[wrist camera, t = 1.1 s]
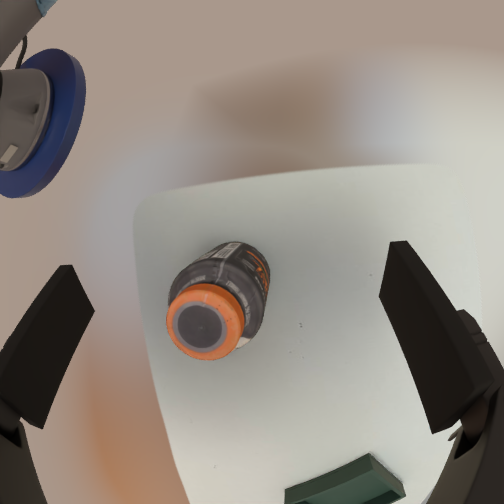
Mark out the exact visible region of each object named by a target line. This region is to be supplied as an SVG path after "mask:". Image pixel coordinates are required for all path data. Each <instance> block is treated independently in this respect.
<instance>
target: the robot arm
mask: <svg viewBox="0 0 504 504" xmlns="http://www.w3.org/2000/svg"><path fill="white" fill-rule="evenodd" d="M56 1H57V0H0V67H1V66H2V64H3V63H4V62H5V60H6V59H7V58H8V56H9V55H10V54H11V52H12V51H13V50H14V49H15V47H16V46H17V45H18V43H20V41H21V40H22V39H23V46H22V50H21V53H20V56H19V58H18V61H17V64H16V68H15V69H12V70H0V170H1V171H17V170H19V169H21V168H23V167H24V166H25V165H26V164H27V163H28V162H29V161H30V160H31V159H32V158H33V156H34V155H35V154H36V152H37V150H38V149H39V147H40V145H41V143H42V141H43V139H44V137H45V135H46V132H47V130H48V127H49V124H50V121H51V117H52V113H53V108H54V99H55V91H54V84H53V81H52V79H51V77H50V76H49V75H48V74H47V73H45V72H43V71H41V70H38V69H32V68H29V69H20V66H21V63H22V59H23V57H24V54H25V52H26V48H27V36H26V34H27V33H28V32H29V31H30V30H31V29H32V27H33V26H34V25H35V24H36V23H37V22H38V21H39V20H40V19H41V18H42V17H44V16H45V15H46V13H47V11H48V10H49V9H50V7H52V6H53V5H54V4H55V3H56ZM379 298H380V300H381V302H382V305H383V307H384V309H385V311H386V313H387V316H388V318H389V320H390V322H391V325H392V327H393V329H394V332H395V334H396V336H397V339H398V341H399V343H400V346H401V348H402V351H403V353H404V356H405V358H406V361H407V363H408V366H409V368H410V371H411V374H412V376H413V379H414V382H415V384H416V387H417V390H418V393H419V396H420V399H421V401H422V404H423V407H424V410H425V413H426V416H427V420H428V423H429V426H430V429H431V432H432V434H434V433H437V432H440V431H442V430H445V429H448V428H450V427H452V426H453V425H454V424H455V423H456V422H457V421H458V420H459V419H460V421H461V424H462V426H461V427H459V428H458V429H457V430H456V431H455V432H454V433H453V434H452V435H451V436H450V437H449V439H448V441H451V440H452V439H454V438H455V437H456V439H455V441H454V444H453V447H452V449H451V452H450V454H449V457H448V459H447V462H446V464H445V466H444V469H443V471H442V473H441V475H440V477H439V480H438V482H437V484H436V486H435V488H434V490H433V492H432V494H431V496H430V498H429V499H428V501H427V503H426V504H504V369H503V367H502V365H501V363H500V361H499V360H498V358H497V356H496V354H495V352H494V350H493V349H492V347H491V345H490V344H489V342H487V338H486V337H485V335H484V333H482V332H481V331H482V330H481V328H480V327H479V325H478V323H477V322H476V320H475V319H474V318H473V317H472V316H471V315H470V314H469V313H467V312H466V311H465V310H464V309H463V310H458V311H456V310H455V308H454V306H453V305H452V303H451V302H450V300H449V299H448V297H447V296H446V294H445V293H444V291H443V290H442V288H441V287H440V285H439V284H438V282H437V281H436V279H435V278H434V277H433V275H432V274H431V272H430V271H429V270H428V268H427V267H426V265H425V264H424V263H423V261H422V260H421V259H420V257H419V256H418V255H417V253H416V252H415V251H414V249H413V248H412V247H411V245H410V244H409V243H408V242H407V241H395V242H390V245H389V251H388V256H387V261H386V266H385V271H384V275H383V280H382V284H381V289H380V293H379ZM94 312H95V310H94V308H93V307H92V305H91V303H90V301H89V299H88V297H87V295H86V293H85V291H84V289H83V287H82V285H81V283H80V281H79V279H78V276H77V275H76V272H75V270H74V268H73V266H72V265H60V266H59V268H58V269H57V270H56V271H55V273H54V274H53V275H52V277H51V278H50V279H49V281H48V282H47V283H46V285H45V286H44V287H43V289H42V290H41V291H40V293H39V294H38V296H37V297H36V298H35V300H34V301H33V303H32V304H31V306H30V307H29V308H28V310H27V311H26V313H25V314H24V316H23V317H22V319H21V321H20V322H19V323H18V325H17V327H16V328H15V330H14V331H13V333H12V334H11V336H10V337H9V338H8V339H7V341H6V343H5V345H4V346H3V349H2V350H1V352H0V504H47V501H46V499H45V496H44V493H43V491H42V489H41V485H40V483H39V480H38V476H37V473H36V470H35V467H34V464H33V461H32V457H31V453H30V450H29V446H28V442H27V438H26V433H25V429H24V426H23V424H22V423H21V422H20V421H19V420H20V418H21V417H22V418H23V419H24V420H26V421H27V422H28V423H29V424H30V425H33V426H35V427H38V428H40V429H43V427H44V425H45V422H46V419H47V416H48V414H49V411H50V408H51V405H52V403H53V401H54V398H55V396H56V393H57V391H58V388H59V385H60V383H61V381H62V379H63V376H64V374H65V372H66V370H67V367H68V365H69V363H70V361H71V358H72V356H73V354H74V352H75V350H76V348H77V346H78V343H79V342H80V339H81V337H82V335H83V333H84V331H85V329H86V327H87V325H88V323H89V322H90V320H91V318H92V316H93V314H94Z"/></svg>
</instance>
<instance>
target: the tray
mask: <svg viewBox="0 0 504 504" xmlns="http://www.w3.org/2000/svg"><path fill="white" fill-rule="evenodd" d="M404 497H406V494H405V491H404V488H403V484H402V483H401V482H400V481H399V480H398V479H397V478H396V477H394V476H393V475H392V474H391V473H390V472H389V471H388V470H387V469H386V468H384V467H383V466H382V465H381V464H380V463H379V462H378V461H377V460H376V459H375V458H374V457H372V456H371V455H370V454H367V455H365V456H363V457H361V458H359V459H357V460H355V461H353V462H351V463H349V464H347V465H345V466H343V467H340V468H338V469H336V470H334V471H332V472H329V473H327V474H325V475H322V476H320V477H317V478H315V479H312V480H310V481H307V482H305V483H302V484H299V485H297V486H294V487H291V488H288V489H285V501H284V504H392V503H394V502H396V501H398V500H400V499H402V498H404Z"/></svg>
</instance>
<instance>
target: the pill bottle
mask: <svg viewBox="0 0 504 504" xmlns="http://www.w3.org/2000/svg"><path fill="white" fill-rule="evenodd" d="M269 284H270V270H269V266H268V264H267V261H266V260H265V258H264V257H263V255H262V254H261V253H260V252H259V251H257V250H256V249H255V248H254V247H252V246H250V245H248V244H245V243H241V242H228V243H224V244H221V245H219V246H217V247H216V248H214V249H213V250H211V251H210V252H208V253H207V254H205V255H204V256H202V257H201V258H199V259H197V260H196V261H194V262H193V263H192V264H190V265H189V266H187V267H186V268H185V269H183V270H182V271H181V272H180V273H179V274H178V276H177V277H176V278H175V280H174V282H173V284H172V286H171V289H170V292H169V297H168V308H169V309H168V312H167V317H166V324H167V329H168V333H169V335H170V337H171V339H172V341H173V342H174V344H175V345H176V346H177V347H178V348H179V349H180V350H181V351H183V352H184V353H185V354H187V355H189V356H191V357H193V358H196V359H200V360H216V359H220V358H222V357H225V356H226V355H228V354H229V353H230V352H231V351H232V350H235V349H238V348H240V347H241V346H243V345H245V344H246V343H248V342H249V341H250V340H251V339H252V338H253V337H254V336H255V335H256V333H257V332H258V330H259V328H260V326H261V323H262V320H263V316H264V310H265V305H266V300H267V295H268V289H269Z"/></svg>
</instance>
